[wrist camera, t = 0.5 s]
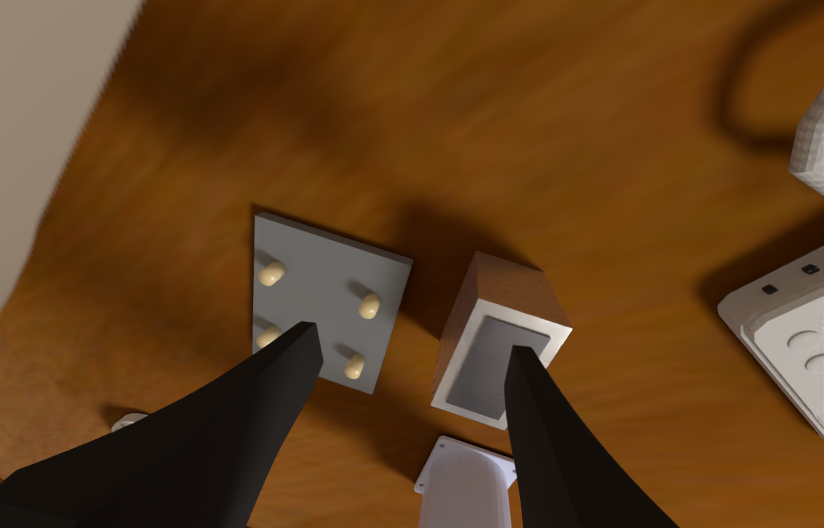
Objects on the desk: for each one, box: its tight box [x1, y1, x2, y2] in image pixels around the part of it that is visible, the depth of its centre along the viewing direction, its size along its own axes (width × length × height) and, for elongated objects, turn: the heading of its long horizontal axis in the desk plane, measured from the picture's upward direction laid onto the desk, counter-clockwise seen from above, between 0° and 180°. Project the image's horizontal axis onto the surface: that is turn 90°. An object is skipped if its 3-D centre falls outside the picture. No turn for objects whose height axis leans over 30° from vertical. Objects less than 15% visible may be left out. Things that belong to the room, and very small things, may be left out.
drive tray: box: [252, 212, 414, 395], centre depth 22 cm, size 13×11×2 cm
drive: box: [430, 251, 572, 430], centre depth 18 cm, size 8×5×6 cm, turn 165°
